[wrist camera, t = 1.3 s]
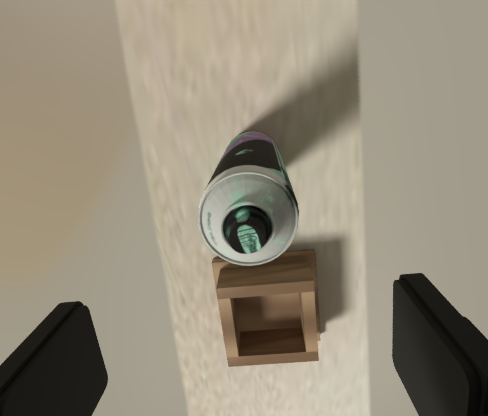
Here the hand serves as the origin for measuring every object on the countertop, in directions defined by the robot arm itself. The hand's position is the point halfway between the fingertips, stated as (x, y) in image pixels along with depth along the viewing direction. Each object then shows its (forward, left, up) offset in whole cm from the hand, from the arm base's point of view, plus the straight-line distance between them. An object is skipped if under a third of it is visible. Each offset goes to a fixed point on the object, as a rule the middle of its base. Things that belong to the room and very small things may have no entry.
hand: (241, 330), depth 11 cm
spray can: (0, 0, -26) cm, 26 cm away
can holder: (+16, 0, -26) cm, 30 cm away
